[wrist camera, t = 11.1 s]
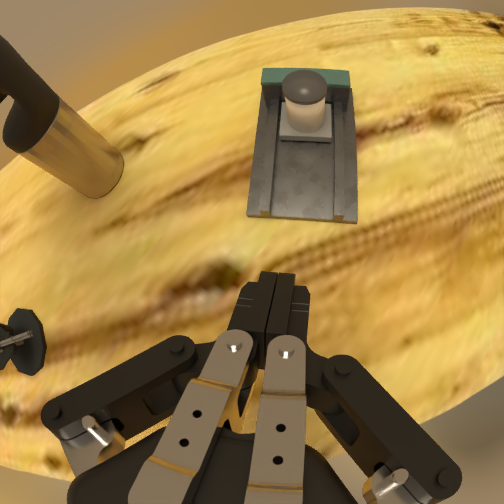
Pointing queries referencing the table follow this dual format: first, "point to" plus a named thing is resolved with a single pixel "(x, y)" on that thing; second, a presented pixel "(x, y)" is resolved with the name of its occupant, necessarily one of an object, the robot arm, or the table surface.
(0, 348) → the gun turret
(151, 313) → the table surface
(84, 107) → the table surface
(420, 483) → the robot arm
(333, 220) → the knob mount
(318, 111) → the knob carriage
